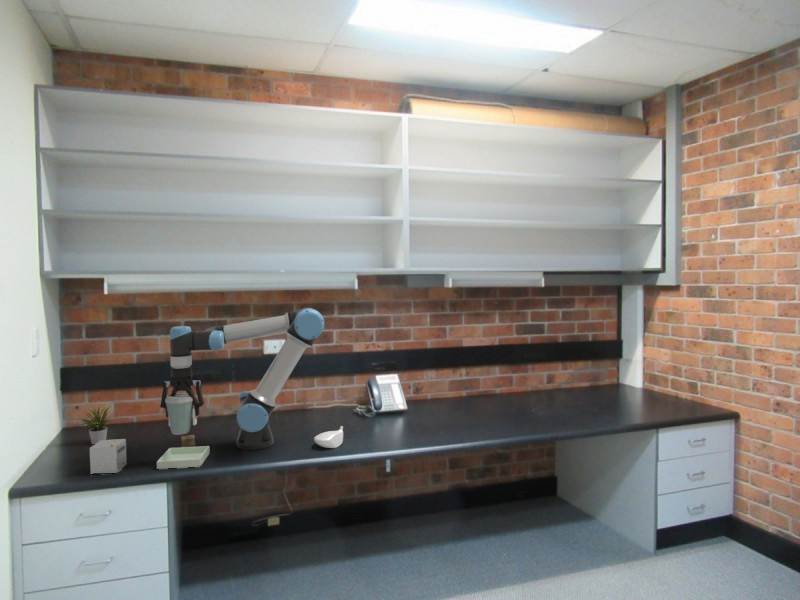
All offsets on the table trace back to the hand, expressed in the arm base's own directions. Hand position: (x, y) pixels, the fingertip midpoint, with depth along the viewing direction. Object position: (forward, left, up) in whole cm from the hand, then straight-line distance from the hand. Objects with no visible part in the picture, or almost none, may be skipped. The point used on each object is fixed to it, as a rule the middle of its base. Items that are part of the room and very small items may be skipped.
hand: (183, 424), depth 200 cm
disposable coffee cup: (+1, 0, -3) cm, 3 cm away
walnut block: (+2, -15, -14) cm, 21 cm away
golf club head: (-55, -10, -15) cm, 58 cm away
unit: (+25, +5, -14) cm, 30 cm away
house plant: (+43, -30, -15) cm, 55 cm away
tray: (0, 0, -14) cm, 14 cm away
